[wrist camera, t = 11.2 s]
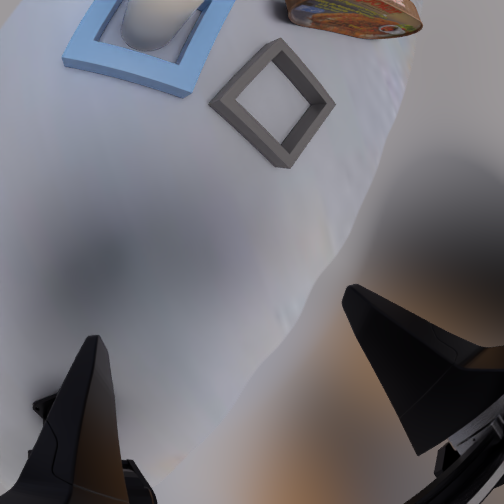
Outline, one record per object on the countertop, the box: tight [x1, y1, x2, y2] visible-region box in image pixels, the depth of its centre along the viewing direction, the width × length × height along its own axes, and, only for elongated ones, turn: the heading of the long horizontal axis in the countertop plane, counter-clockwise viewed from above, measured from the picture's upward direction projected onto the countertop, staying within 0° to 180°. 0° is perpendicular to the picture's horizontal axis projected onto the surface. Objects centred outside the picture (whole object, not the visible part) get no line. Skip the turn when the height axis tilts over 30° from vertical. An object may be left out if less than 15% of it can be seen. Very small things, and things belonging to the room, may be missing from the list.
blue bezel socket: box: [62, 0, 235, 98], centre depth 13 cm, size 9×9×2 cm
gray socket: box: [208, 38, 336, 169], centre depth 20 cm, size 8×8×2 cm
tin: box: [285, 0, 423, 39], centre depth 17 cm, size 15×3×8 cm, turn 100°
